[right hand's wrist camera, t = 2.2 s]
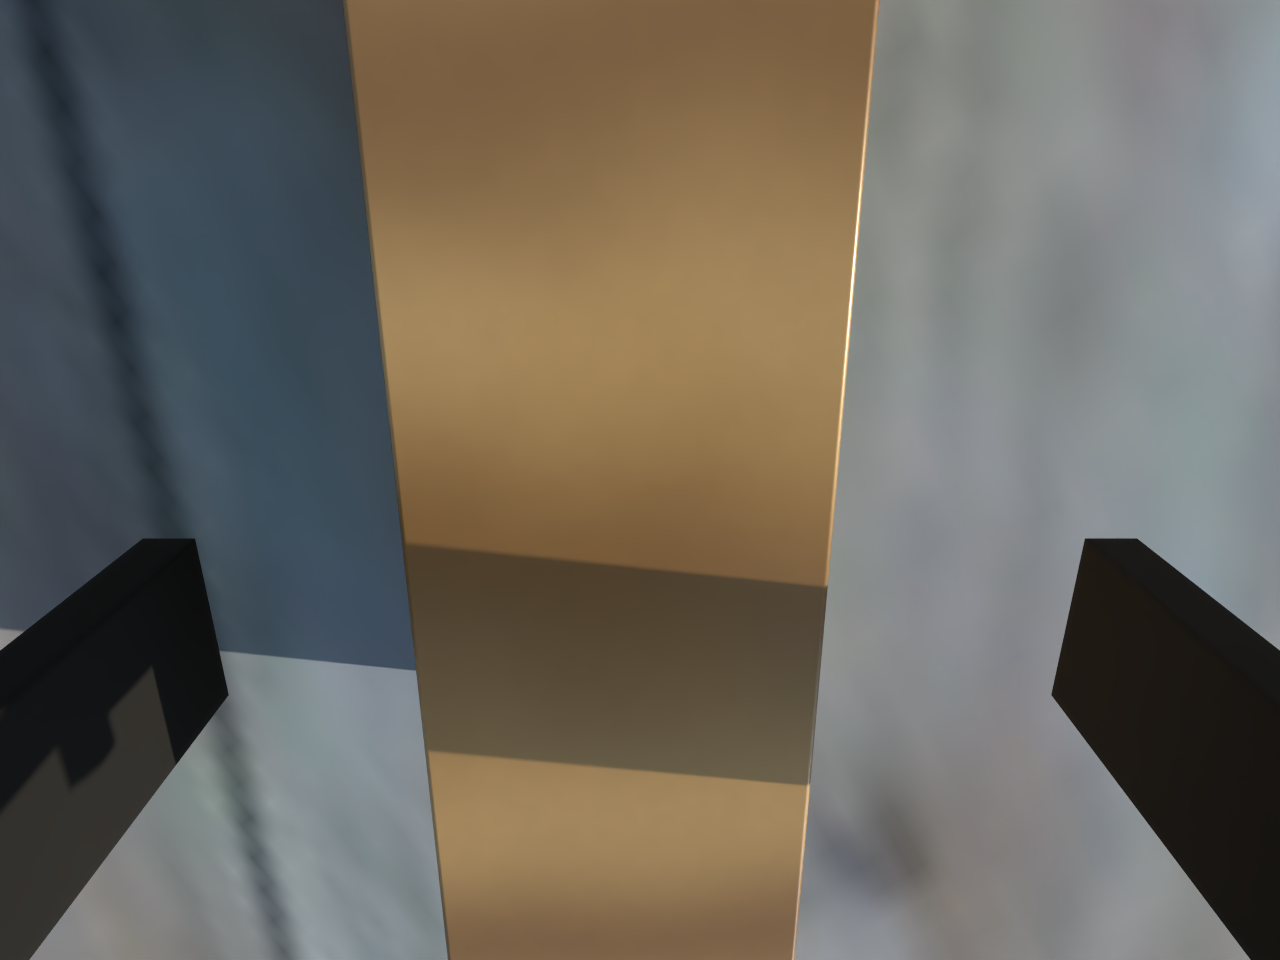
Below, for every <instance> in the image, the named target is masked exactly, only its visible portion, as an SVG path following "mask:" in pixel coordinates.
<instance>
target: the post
mask: <svg viewBox="0 0 1280 960" xmlns="http://www.w3.org/2000/svg"><path fill="white" fill-rule="evenodd" d="M342 1H343V10H344V19H345V28H346V37H347V46H348V55H349V65H350V74H351V83H352V92H353V101H354V110H355V119H356V128H357V137H358V146H359V155H360V164H361V174H362V183H363V192H364V201H365V210H366V219H367V228H368V237H369V246H370V255H371V264H372V274H373V283H374V292H375V301H376V310H377V319H378V328H379V337H380V346H381V355H382V364H383V373H384V383H385V392H386V401H387V410H388V419H389V428H390V437H391V446H392V455H393V464H394V473H395V483H396V492H397V501H398V510H399V519H400V528H401V537H402V546H403V555H404V564H405V573H406V582H407V592H408V601H409V610H410V619H411V628H412V637H413V646H414V655H415V664H416V673H417V682H418V691H419V701H420V710H421V719H422V728H423V737H424V746H425V755H426V764H427V773H428V782H429V791H430V801H431V810H432V819H433V828H434V837H435V846H436V855H437V864H438V873H439V882H440V891H441V900H442V910H443V919H444V928H445V937H446V946H447V955H448V960H795V950H796V939H797V928H798V916H799V905H800V894H801V882H802V871H803V860H804V848H805V837H806V826H807V814H808V803H809V792H810V780H811V769H812V758H813V747H814V735H815V724H816V713H817V701H818V690H819V679H820V667H821V656H822V645H823V633H824V622H825V611H826V599H827V588H828V577H829V566H830V554H831V543H832V532H833V520H834V509H835V498H836V486H837V475H838V464H839V452H840V441H841V430H842V418H843V407H844V396H845V385H846V373H847V362H848V351H849V339H850V328H851V317H852V305H853V294H854V283H855V271H856V260H857V249H858V237H859V226H860V215H861V204H862V192H863V181H864V170H865V158H866V147H867V136H868V124H869V113H870V102H871V90H872V79H873V68H874V56H875V45H876V34H877V23H878V11H879V0H342Z"/></svg>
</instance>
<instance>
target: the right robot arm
mask: <svg viewBox="0 0 1280 960" xmlns="http://www.w3.org/2000/svg"><path fill="white" fill-rule="evenodd" d="M227 696H228V690H227V685H226V681H225V676H224V671H223V667H222V662H221V657H220V653H219V648H218V643H217V639H216V634H215V630H214V625H213V620H212V616H211V611H210V606H209V602H208V597H207V592H206V588H205V583H204V578H203V574H202V569H201V564H200V560H199V555H198V551H197V546H196V541H195V539H142V540H141V541H139V542H138V543H137V544H135V545H134V546H133V547H132V548H130V549H129V550H128V551H127V552H125V553H124V554H123V555H121V556H120V557H119V558H118V559H116V560H115V561H114V562H113V563H111V564H110V565H109V566H107V567H106V568H105V569H104V570H102V571H101V572H100V573H99V574H97V575H96V576H95V577H93V578H92V579H91V580H90V581H88V582H87V583H86V584H85V585H83V586H82V587H81V588H79V589H78V590H77V591H76V592H74V593H73V594H72V595H71V596H69V597H68V598H67V599H65V600H64V601H63V602H62V603H60V604H59V605H58V606H57V607H55V608H54V609H53V610H51V611H50V612H49V613H48V614H46V615H45V616H44V617H43V618H41V619H40V620H39V621H37V622H36V623H35V624H34V625H32V626H31V627H30V628H28V629H27V630H26V631H25V632H23V633H22V634H21V635H20V636H18V637H17V638H16V639H14V640H13V641H12V642H11V643H9V644H8V645H7V646H6V647H4V648H3V649H2V650H0V960H29V959H30V958H31V957H32V955H33V954H34V953H35V951H36V950H37V949H38V947H39V946H40V945H41V943H42V942H43V941H44V939H45V938H46V937H47V935H48V934H49V933H50V931H51V930H52V929H53V928H54V926H55V925H56V924H57V922H58V921H59V920H60V918H61V917H62V916H63V914H64V913H65V912H66V910H67V909H68V908H69V906H70V905H71V904H72V902H73V901H74V900H75V898H76V897H77V896H78V894H79V893H80V892H81V890H82V889H83V888H84V886H85V885H86V884H87V882H88V881H89V880H90V878H91V877H92V876H93V874H94V873H95V872H96V870H97V869H98V868H99V866H100V865H101V864H102V862H103V861H104V860H105V858H106V857H107V856H108V854H109V853H110V852H111V850H112V849H113V848H114V846H115V845H116V844H117V842H118V841H119V840H120V839H121V837H122V836H123V835H124V833H125V832H126V831H127V829H128V828H129V827H130V825H131V824H132V823H133V821H134V820H135V819H136V817H137V816H138V815H139V813H140V812H141V811H142V809H143V808H144V807H145V805H146V804H147V803H148V801H149V800H150V799H151V797H152V796H153V795H154V793H155V792H156V791H157V789H158V788H159V787H160V785H161V784H162V783H163V781H164V780H165V779H166V777H167V776H168V775H169V773H170V772H171V771H172V769H173V768H174V767H175V765H176V764H177V763H178V761H179V760H180V759H181V757H182V756H183V755H184V754H185V752H186V751H187V750H188V748H189V747H190V746H191V744H192V743H193V742H194V740H195V739H196V738H197V736H198V735H199V734H200V732H201V731H202V730H203V728H204V727H205V726H206V724H207V723H208V722H209V720H210V719H211V718H212V716H213V715H214V714H215V712H216V711H217V710H218V708H219V707H220V706H221V704H222V703H223V702H224V700H225V699H226V698H227ZM1052 696H1053V698H1054V699H1055V700H1056V702H1057V703H1058V704H1059V706H1060V707H1061V708H1062V710H1063V711H1064V712H1065V714H1066V715H1067V716H1068V718H1069V719H1070V720H1071V722H1072V723H1073V724H1074V726H1075V727H1076V728H1077V730H1078V731H1079V732H1080V734H1081V735H1082V736H1083V738H1084V739H1085V740H1086V742H1087V743H1088V744H1089V746H1090V747H1091V748H1092V750H1093V751H1094V752H1095V754H1096V755H1097V756H1098V757H1099V759H1100V760H1101V761H1102V763H1103V764H1104V765H1105V767H1106V768H1107V769H1108V771H1109V772H1110V773H1111V775H1112V776H1113V777H1114V779H1115V780H1116V781H1117V783H1118V784H1119V785H1120V787H1121V788H1122V789H1123V791H1124V792H1125V793H1126V795H1127V796H1128V797H1129V799H1130V800H1131V801H1132V803H1133V804H1134V805H1135V807H1136V808H1137V809H1138V811H1139V812H1140V813H1141V815H1142V816H1143V817H1144V819H1145V820H1146V821H1147V823H1148V824H1149V825H1150V827H1151V828H1152V829H1153V831H1154V832H1155V833H1156V835H1157V836H1158V837H1159V839H1160V840H1161V841H1162V842H1163V844H1164V845H1165V846H1166V848H1167V849H1168V850H1169V852H1170V853H1171V854H1172V856H1173V857H1174V858H1175V860H1176V861H1177V862H1178V864H1179V865H1180V866H1181V868H1182V869H1183V870H1184V872H1185V873H1186V874H1187V876H1188V877H1189V878H1190V880H1191V881H1192V882H1193V884H1194V885H1195V886H1196V888H1197V889H1198V890H1199V892H1200V893H1201V894H1202V896H1203V897H1204V898H1205V900H1206V901H1207V902H1208V904H1209V905H1210V906H1211V908H1212V909H1213V910H1214V912H1215V913H1216V914H1217V916H1218V917H1219V918H1220V920H1221V921H1222V922H1223V924H1224V925H1225V926H1226V928H1227V929H1228V930H1229V931H1230V933H1231V934H1232V935H1233V937H1234V938H1235V939H1236V941H1237V942H1238V943H1239V945H1240V946H1241V947H1242V949H1243V950H1244V951H1245V953H1246V954H1247V955H1248V957H1249V958H1250V959H1251V960H1280V650H1278V649H1277V648H1276V647H1274V646H1273V645H1272V644H1271V643H1269V642H1268V641H1267V640H1266V639H1264V638H1263V637H1262V636H1260V635H1259V634H1258V633H1257V632H1255V631H1254V630H1253V629H1252V628H1250V627H1249V626H1248V625H1246V624H1245V623H1244V622H1243V621H1241V620H1240V619H1239V618H1238V617H1236V616H1235V615H1234V614H1232V613H1231V612H1230V611H1229V610H1227V609H1226V608H1225V607H1223V606H1222V605H1221V604H1220V603H1218V602H1217V601H1216V600H1215V599H1213V598H1212V597H1211V596H1209V595H1208V594H1207V593H1206V592H1204V591H1203V590H1202V589H1201V588H1199V587H1198V586H1197V585H1195V584H1194V583H1193V582H1192V581H1190V580H1189V579H1188V578H1187V577H1185V576H1184V575H1183V574H1181V573H1180V572H1179V571H1178V570H1176V569H1175V568H1174V567H1173V566H1171V565H1170V564H1169V563H1167V562H1166V561H1165V560H1164V559H1162V558H1161V557H1160V556H1159V555H1157V554H1156V553H1155V552H1153V551H1152V550H1151V549H1150V548H1148V547H1147V546H1146V545H1145V544H1143V543H1142V542H1141V541H1139V540H1138V539H1085V541H1084V546H1083V551H1082V555H1081V560H1080V564H1079V569H1078V574H1077V578H1076V583H1075V588H1074V592H1073V597H1072V602H1071V606H1070V611H1069V616H1068V620H1067V625H1066V630H1065V634H1064V639H1063V643H1062V648H1061V653H1060V657H1059V662H1058V667H1057V671H1056V676H1055V681H1054V685H1053V690H1052Z"/></svg>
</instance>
